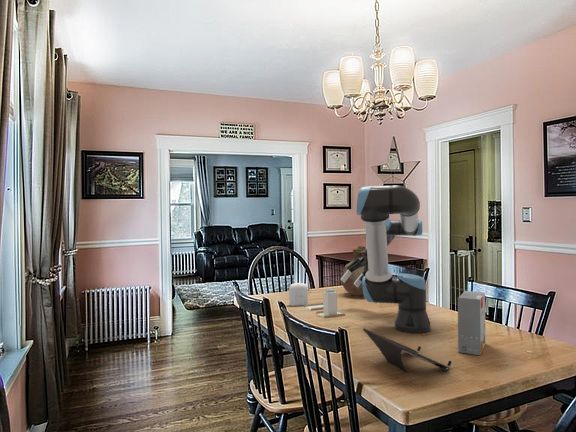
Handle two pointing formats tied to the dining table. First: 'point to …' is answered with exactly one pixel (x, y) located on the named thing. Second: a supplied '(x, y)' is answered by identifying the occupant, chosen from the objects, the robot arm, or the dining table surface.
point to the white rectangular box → (330, 302)
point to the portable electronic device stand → (399, 351)
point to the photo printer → (298, 294)
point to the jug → (354, 275)
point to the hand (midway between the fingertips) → (348, 283)
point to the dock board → (321, 306)
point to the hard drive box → (471, 322)
